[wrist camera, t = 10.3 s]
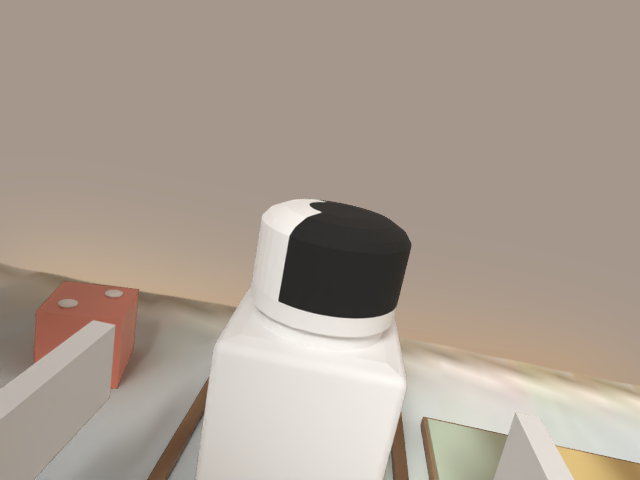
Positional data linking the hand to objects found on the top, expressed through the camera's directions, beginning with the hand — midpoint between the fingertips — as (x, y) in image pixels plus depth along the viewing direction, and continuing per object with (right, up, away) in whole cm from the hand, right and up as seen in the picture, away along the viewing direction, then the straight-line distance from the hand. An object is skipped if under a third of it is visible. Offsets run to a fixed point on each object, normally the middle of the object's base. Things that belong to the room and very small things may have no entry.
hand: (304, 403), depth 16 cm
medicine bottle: (-1, -5, +7) cm, 9 cm away
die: (-12, -2, +11) cm, 17 cm away
